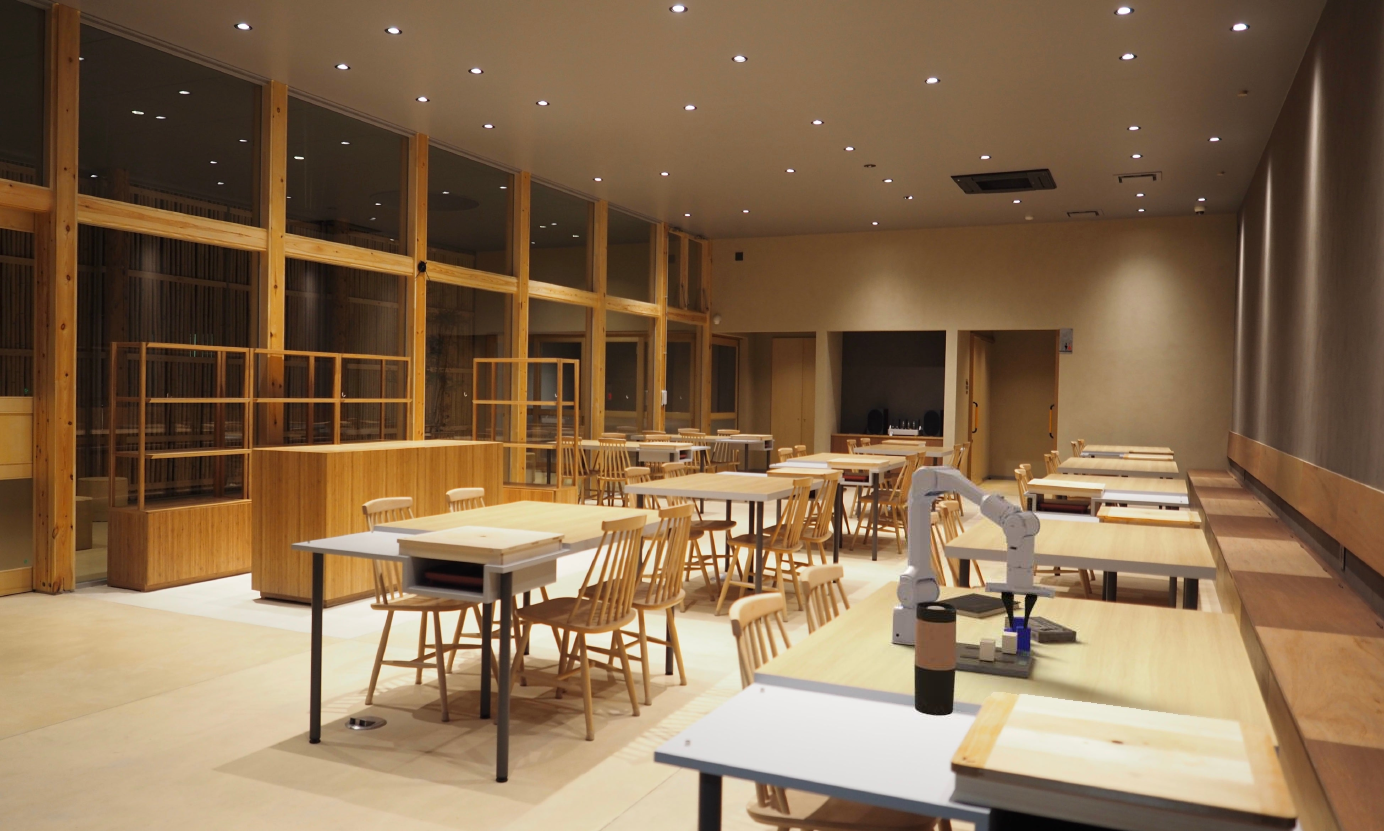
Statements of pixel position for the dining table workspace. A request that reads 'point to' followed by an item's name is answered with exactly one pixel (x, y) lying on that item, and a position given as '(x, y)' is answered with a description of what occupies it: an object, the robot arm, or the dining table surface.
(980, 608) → the hardcover book
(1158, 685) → the dining table surface
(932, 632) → the travel mug
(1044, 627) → the grey flat block
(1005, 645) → the on breaker
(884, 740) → the dining table surface
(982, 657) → the breaker
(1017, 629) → the cable clip
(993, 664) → the breaker panel
